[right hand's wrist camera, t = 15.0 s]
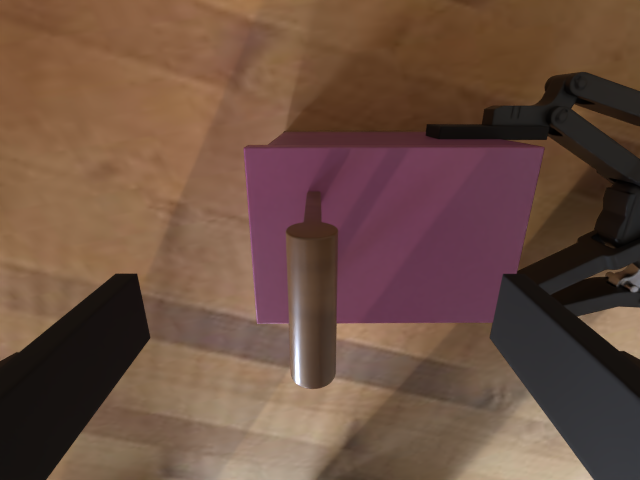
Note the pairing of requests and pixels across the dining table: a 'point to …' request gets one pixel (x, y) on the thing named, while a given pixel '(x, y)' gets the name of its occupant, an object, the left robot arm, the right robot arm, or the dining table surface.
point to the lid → (382, 237)
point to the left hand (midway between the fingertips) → (423, 213)
